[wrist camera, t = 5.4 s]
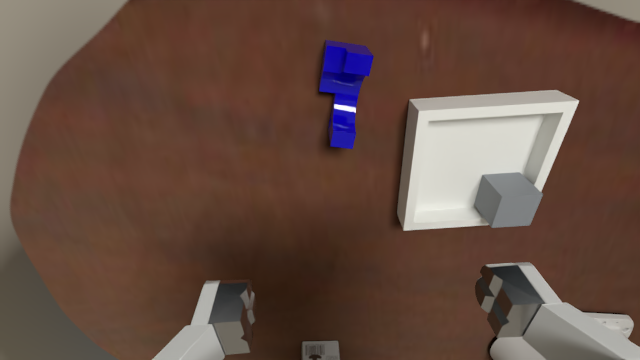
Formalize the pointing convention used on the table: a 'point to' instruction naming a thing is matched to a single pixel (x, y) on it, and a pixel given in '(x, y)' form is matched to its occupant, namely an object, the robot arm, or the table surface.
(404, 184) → the tray
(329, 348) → the coffee box
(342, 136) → the cable holder
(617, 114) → the table surface
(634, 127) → the table surface
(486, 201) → the block
